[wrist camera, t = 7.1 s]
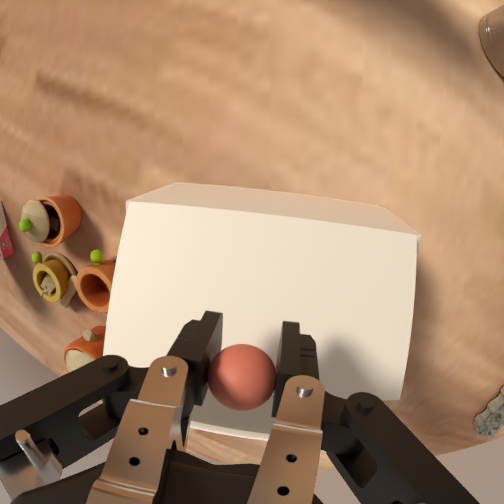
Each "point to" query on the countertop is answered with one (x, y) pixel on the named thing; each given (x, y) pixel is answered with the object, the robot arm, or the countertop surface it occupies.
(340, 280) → the flap
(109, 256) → the countertop surface
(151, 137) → the countertop surface
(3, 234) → the ink box
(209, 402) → the carton
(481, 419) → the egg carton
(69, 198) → the toy tea set
